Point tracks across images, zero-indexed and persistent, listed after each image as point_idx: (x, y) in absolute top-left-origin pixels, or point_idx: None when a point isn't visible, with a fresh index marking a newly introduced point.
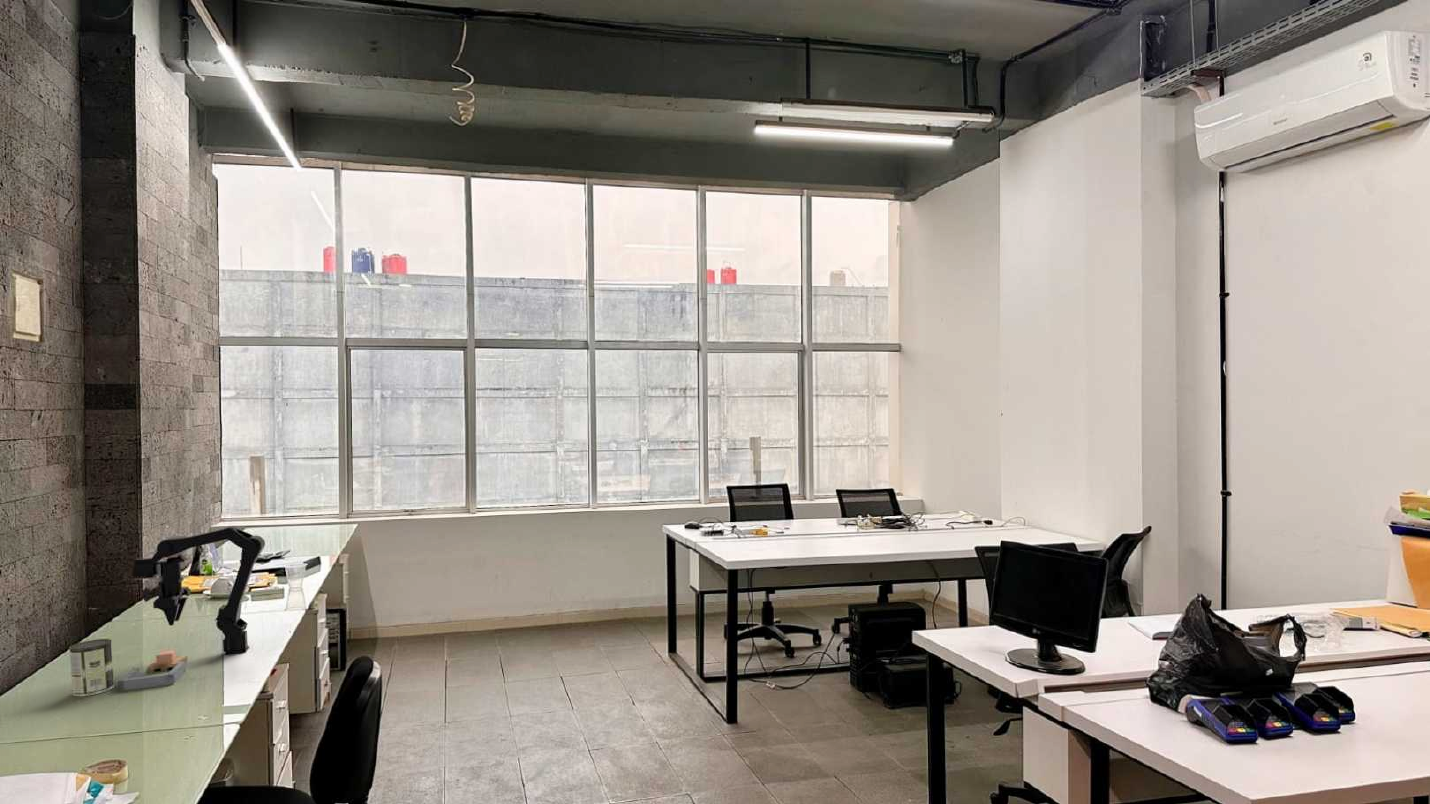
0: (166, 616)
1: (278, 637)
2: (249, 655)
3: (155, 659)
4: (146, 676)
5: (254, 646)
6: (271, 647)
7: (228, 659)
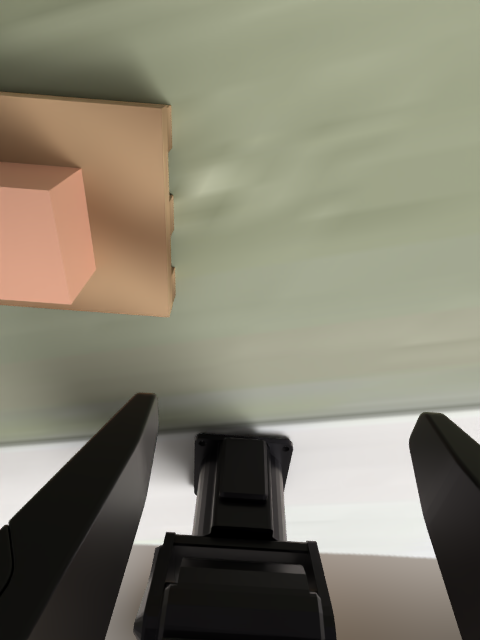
0: (3, 533)
1: (381, 551)
2: None
3: (139, 107)
4: None
5: (288, 504)
6: None
7: None
